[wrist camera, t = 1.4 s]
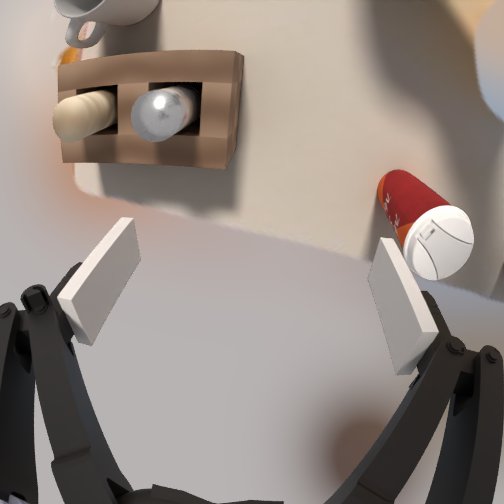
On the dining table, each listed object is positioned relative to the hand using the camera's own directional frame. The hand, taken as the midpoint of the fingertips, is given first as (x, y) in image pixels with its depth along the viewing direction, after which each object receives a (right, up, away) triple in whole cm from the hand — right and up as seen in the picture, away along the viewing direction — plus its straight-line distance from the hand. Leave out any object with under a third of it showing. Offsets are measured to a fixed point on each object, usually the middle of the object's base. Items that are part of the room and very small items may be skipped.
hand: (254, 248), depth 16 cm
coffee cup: (+20, +8, +22) cm, 30 cm away
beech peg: (-16, +16, +13) cm, 27 cm away
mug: (-16, +30, +10) cm, 36 cm away
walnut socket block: (-12, +19, +17) cm, 28 cm away
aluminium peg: (-7, +15, +13) cm, 22 cm away
